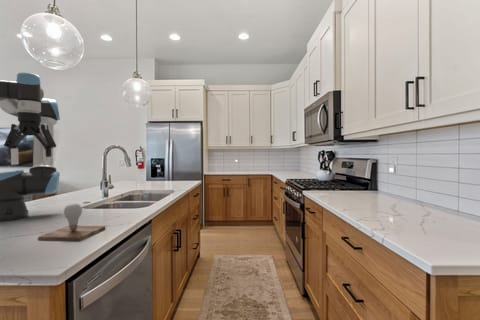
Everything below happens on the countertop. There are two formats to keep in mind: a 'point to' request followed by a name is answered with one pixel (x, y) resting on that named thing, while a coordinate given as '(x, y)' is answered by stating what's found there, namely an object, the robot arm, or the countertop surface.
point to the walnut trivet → (72, 233)
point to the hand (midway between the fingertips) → (30, 164)
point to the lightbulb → (73, 214)
